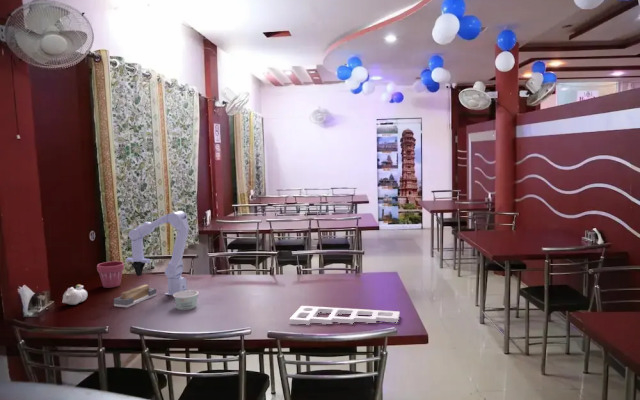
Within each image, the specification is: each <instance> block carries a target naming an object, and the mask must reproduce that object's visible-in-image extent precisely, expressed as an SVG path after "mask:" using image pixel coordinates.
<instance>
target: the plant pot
mask: <svg viewBox="0 0 640 400" xmlns="http://www.w3.org/2000/svg"><path fill="white" fill-rule="evenodd" d="M96 270H97V271H96V272H98V274H99V277H100V281H101V284H102V287H103V288H109V289H110V288H115V287H119V286H121V281H122V277H123V271H124V270H125V264H124V262H123V261H117V260H115V261H114V260H113V261H107V262H106V261H105V262H101V263H98V264H97V266H96Z"/></svg>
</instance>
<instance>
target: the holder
mask: <svg viewBox="0 0 640 400" xmlns="http://www.w3.org/2000/svg"><path fill="white" fill-rule="evenodd" d="M320 312H322V313H320ZM318 313H319V314H326V313H331V314H329V315H328V317H321V316H320V317H319V316H318V315H319V314H318ZM338 314H339V315H342V314H351V315H349V316H339V315H338ZM337 315H338V316H337ZM358 315H372V316H358ZM400 315H401V313H400V311H395V310H379V309H366V308H365V309H363V308H348V307H344V308H343V307H327V306H313V305H312V306H310V305H300V307H299V308H298V309H297V310H296V311H295V312H294V313H293V314H292V316H290V318H288V321H289V325H298V324H306V325H305V326H310V325H311V324H310V323H322V324H321V325H326V324H332V325H333V323H332V322H338V323H337V324H340V323H350V324H349V325H354V324H355V323H354V322H366V323H365V324H368V323H376V324H377V322H376V321H385V322H396V323H395V324H398V323H399V321H400V318H401V317H400ZM399 317H400V318H399ZM398 320H399V321H398ZM397 322H398V323H397ZM353 323H354V324H353ZM309 324H310V325H309Z"/></svg>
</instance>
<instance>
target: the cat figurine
mask: <svg viewBox="0 0 640 400" xmlns="http://www.w3.org/2000/svg"><path fill="white" fill-rule="evenodd" d="M87 298H88V291H87V290H86V289H84V285H82V284H76V285H75V288H74V286H71V287H68V288H67V289H66V290H65V291H64V293H63V295H62V302H61V303H63V304H67V305H69V306H70V305H71V306H76V305H78V304H79V303H82V302H84V301H86V300H87Z"/></svg>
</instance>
